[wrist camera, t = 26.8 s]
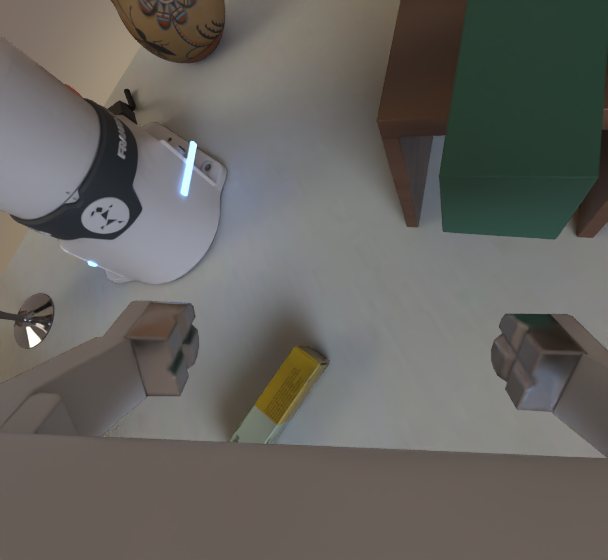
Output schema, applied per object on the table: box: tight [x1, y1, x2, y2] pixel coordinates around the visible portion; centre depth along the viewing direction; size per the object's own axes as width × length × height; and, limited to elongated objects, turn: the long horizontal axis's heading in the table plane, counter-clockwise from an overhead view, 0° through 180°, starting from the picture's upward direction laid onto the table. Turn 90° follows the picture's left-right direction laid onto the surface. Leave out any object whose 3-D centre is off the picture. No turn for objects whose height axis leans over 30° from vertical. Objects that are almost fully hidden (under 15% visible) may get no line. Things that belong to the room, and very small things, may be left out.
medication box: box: [228, 346, 330, 444], centre depth 30 cm, size 12×3×4 cm, turn 143°
